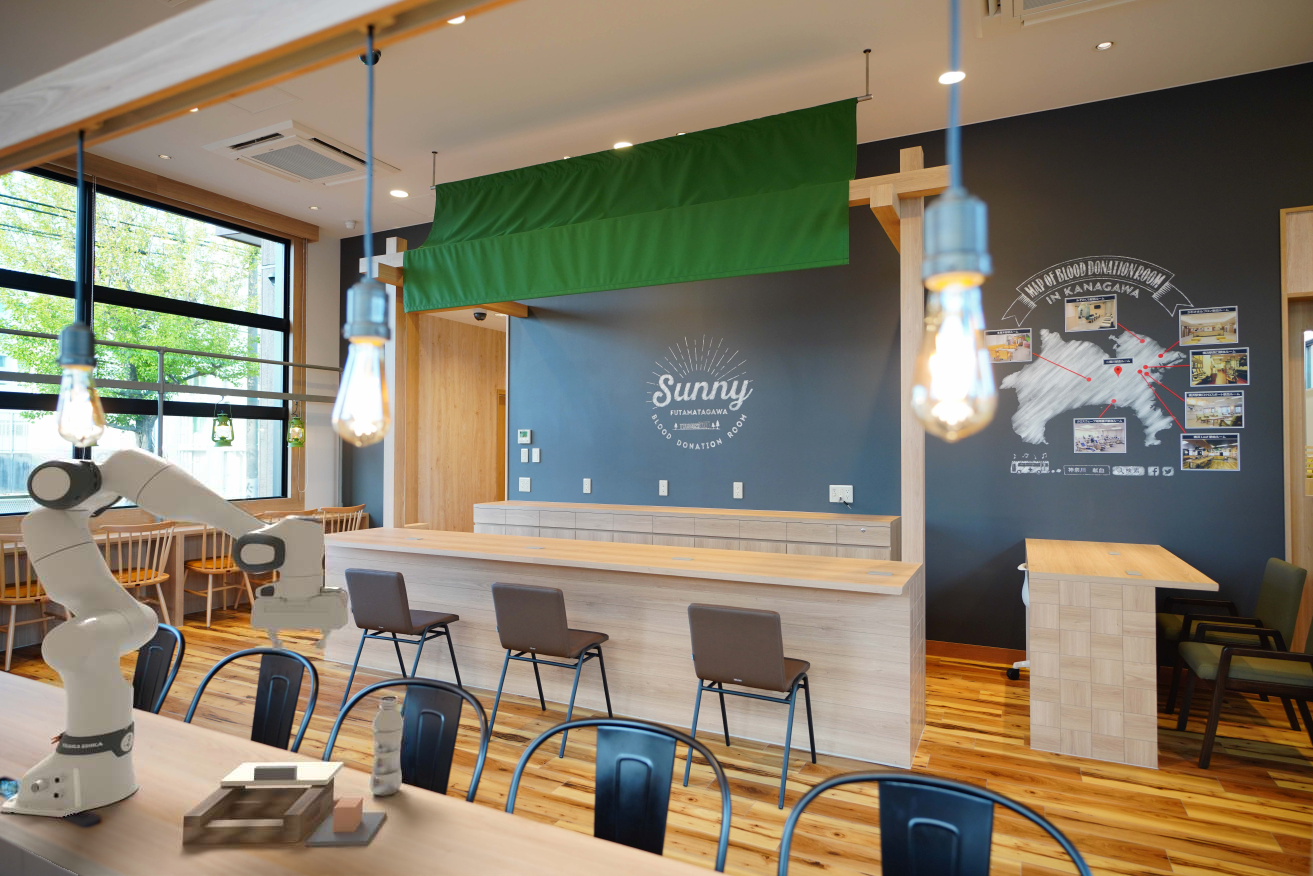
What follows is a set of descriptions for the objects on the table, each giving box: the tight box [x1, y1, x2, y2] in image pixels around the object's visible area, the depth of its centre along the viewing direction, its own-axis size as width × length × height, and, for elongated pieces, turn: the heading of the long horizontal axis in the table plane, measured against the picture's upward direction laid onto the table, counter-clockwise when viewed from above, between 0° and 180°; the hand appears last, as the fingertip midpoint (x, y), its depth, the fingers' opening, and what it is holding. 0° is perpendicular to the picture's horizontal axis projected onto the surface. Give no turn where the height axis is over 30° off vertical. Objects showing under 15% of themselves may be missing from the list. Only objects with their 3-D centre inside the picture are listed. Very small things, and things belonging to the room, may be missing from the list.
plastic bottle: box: [369, 695, 404, 797], centre depth 152 cm, size 6×7×20 cm
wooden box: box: [182, 777, 335, 845], centre depth 139 cm, size 21×16×5 cm
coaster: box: [306, 811, 388, 847], centre depth 136 cm, size 11×11×1 cm
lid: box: [219, 761, 345, 787], centre depth 147 cm, size 21×9×3 cm, turn 93°
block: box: [333, 797, 364, 832], centre depth 136 cm, size 4×4×4 cm
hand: (299, 649), depth 158 cm, fingers open, 8 cm apart
